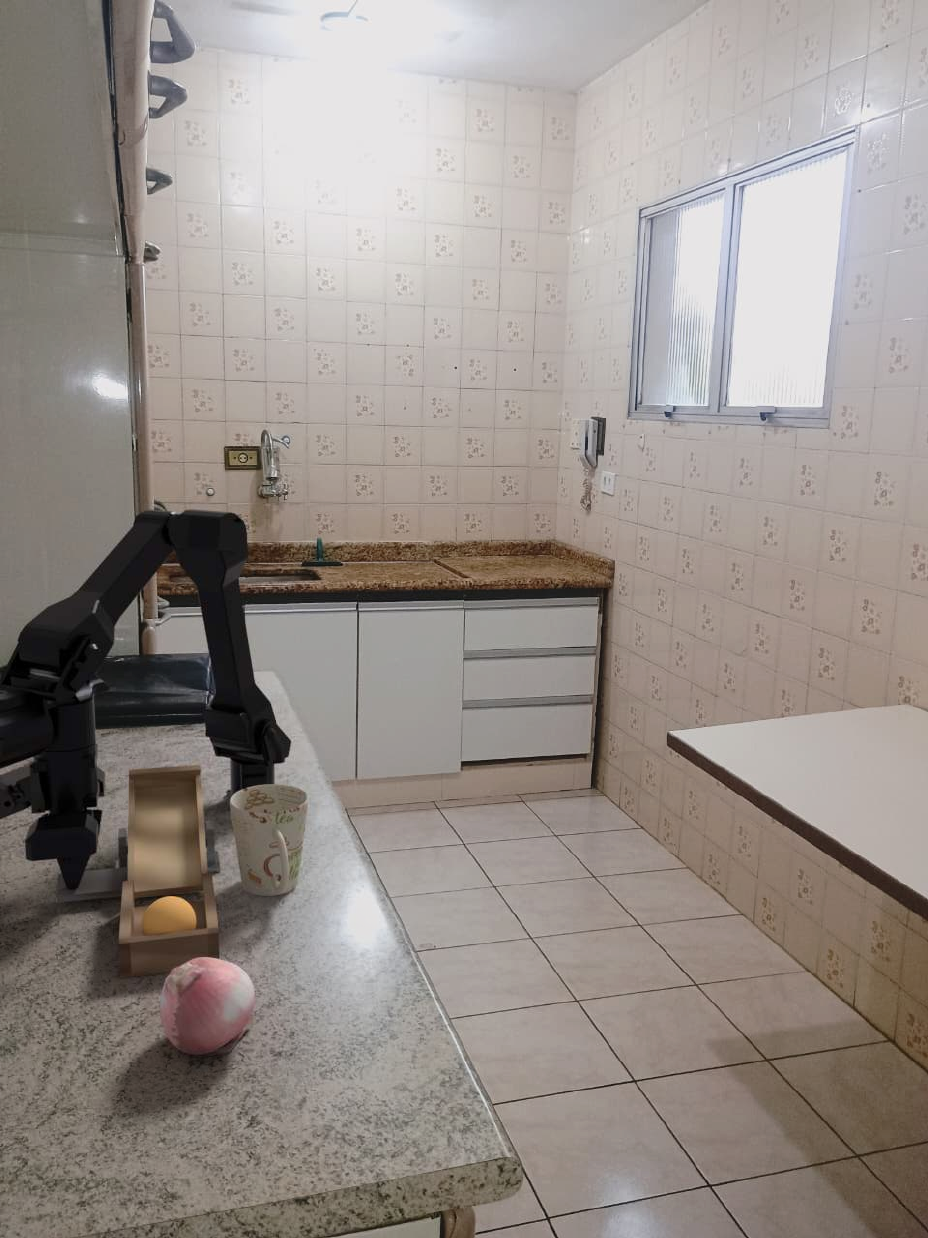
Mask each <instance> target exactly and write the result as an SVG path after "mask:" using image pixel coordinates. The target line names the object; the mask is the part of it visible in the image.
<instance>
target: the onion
mask: <svg viewBox="0 0 928 1238" xmlns="http://www.w3.org/2000/svg"><path fill="white" fill-rule="evenodd" d="M255 992H256V991H255V987H254V984H253V982H252V980H251V978H250V976H249V974H248V973H247V972H245V971H244V970H243V969H242V968H241V967H239V966H238V965H236V964H235V963H231V962H229V961H227V960H223V959H220V958H219V959H216V958H209V957H200V958H195V959H192V960H190V961H188V962H186V963H185V964H183V965H181V966H179V967H176V968H174V969H173V970H172V971H171V972H169V974H168V976H167V977H165V979H164V983H163V987H162V990H161V995H160V997H159V1017H160V1021H161V1025H162V1027H163V1029H164V1032H165V1034H166V1037H167V1039H168V1040H169V1041H170V1042H171V1045H173V1046H174V1047H175V1048H177V1049H178V1050H179V1051H180V1052H182V1053H185V1054H189V1055H192V1056H194V1057H197V1058H206V1057H211V1056H217V1055H224V1054H230V1053H231V1051H232V1050H233V1049H234V1047H235V1045H236V1044H237V1043H238V1041H239V1040H240V1039H241V1037H242V1036H243V1035H244V1033H245V1032H246V1030H247V1029H248V1028H249V1026H250V1025H251V1024H252V1022H253V1021H254V1020H255V1018H256V1017H255V1016H254V1015H253V1012H254V1007H255V1003H256V993H255Z"/></svg>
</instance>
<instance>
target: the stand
mask: <svg viewBox="0 0 928 1238" xmlns="http://www.w3.org/2000/svg"><path fill="white" fill-rule="evenodd" d="M214 824H215V823H214V820H206V821H205V827H206V828H205V843H206V858H207V873H212V874H214V873H221V863H220V855H219V850H216V846H215V845H216V844H215V843H216V842H215V825H214ZM127 835H128V830H127V827H124V828H118V835H117V841H118V842H117V843H118V845H117V847H118V859H116V860H115V867H114V868H122V867H128V837H127Z"/></svg>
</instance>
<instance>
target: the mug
mask: <svg viewBox="0 0 928 1238" xmlns="http://www.w3.org/2000/svg"><path fill="white" fill-rule="evenodd" d="M308 808H309V795H308V794H307V792H306V791H304V789H301V788H299V787H296V786H292V785H289V784H288V785H287V784H276V783H275V784H267V785H258V786H253V787H248V788H245V789H242V790H240V791H238V792H236V793H235V794H234V795H233V796H232V797H231V799H230V810H229V811H230V817H231V823H232V829H233V836H234V837H233V838H234V842H235V850H236V854H237V855H236V856H237V861H238V867H239V868H238V869H239V875H240V881H241V886H242V889H243V890H244V891H245V892H247V893H248V894H251V895H253V896H260V897H274V896H280V895H284V894H287V893H289V892H291V891H292V890H294V889H295V888H296V887H297V885H298V883H299V876H300V869H301V864H302V863H301V862H302V855H303V854H302V853H303V848H304V847H303V845H304V841H305V831H306V825H307V817H308V810H309V809H308Z"/></svg>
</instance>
